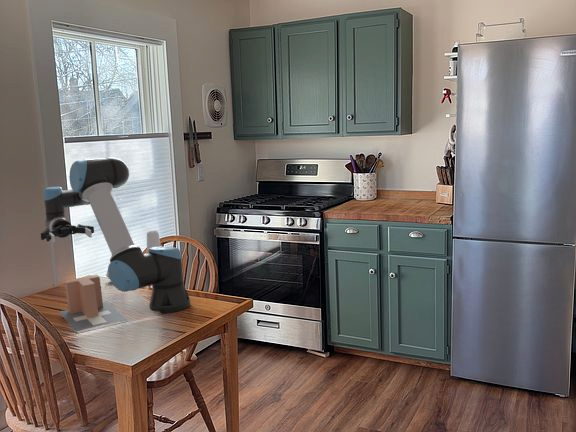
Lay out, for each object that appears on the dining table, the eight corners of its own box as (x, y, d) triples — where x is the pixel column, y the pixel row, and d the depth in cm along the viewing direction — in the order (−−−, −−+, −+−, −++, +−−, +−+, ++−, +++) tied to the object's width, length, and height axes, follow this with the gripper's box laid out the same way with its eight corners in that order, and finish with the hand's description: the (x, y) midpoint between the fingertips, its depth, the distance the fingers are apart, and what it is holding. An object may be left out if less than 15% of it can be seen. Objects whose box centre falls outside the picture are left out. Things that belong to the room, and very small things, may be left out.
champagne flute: (166, 286, 248) (160, 232, 244) (150, 289, 246) (144, 233, 243) (165, 283, 255) (159, 229, 251) (149, 285, 253) (143, 231, 249)
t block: (68, 311, 219) (64, 280, 217) (100, 304, 225) (96, 274, 223) (76, 320, 208) (71, 287, 206) (109, 312, 214) (105, 281, 212)
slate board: (59, 314, 220) (58, 311, 219) (106, 304, 229) (106, 301, 229) (75, 334, 196) (74, 331, 196) (127, 321, 205) (127, 319, 205)
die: (124, 278, 270) (109, 264, 268) (133, 271, 265) (118, 256, 263) (114, 289, 264) (98, 274, 262) (123, 282, 258) (108, 266, 257)
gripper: (92, 231, 248) (105, 241, 231) (29, 240, 235) (39, 251, 217) (90, 214, 247) (104, 222, 229) (27, 222, 234) (36, 231, 216)
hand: (72, 236), depth 223 cm, fingers open, 13 cm apart
